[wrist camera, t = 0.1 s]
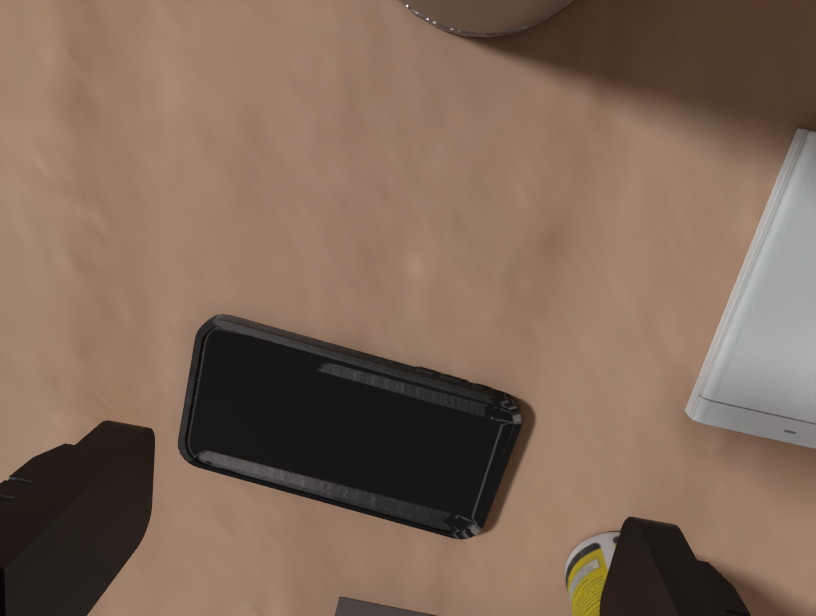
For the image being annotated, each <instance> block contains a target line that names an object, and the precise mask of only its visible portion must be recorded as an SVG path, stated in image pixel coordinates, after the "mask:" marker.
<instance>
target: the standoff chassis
mask: <svg viewBox="0 0 816 616" xmlns="http://www.w3.org/2000/svg"><path fill="white" fill-rule="evenodd" d="M335 616H433V615H428V614H423V613H418V612H413V611H408V610H403V609H398V608H393V607H388V606H383V605H378V604H372V603H367V602H362V601H357V600H352V599H347V598H342V597H339V601H338V605H337V609H336V613H335Z"/></svg>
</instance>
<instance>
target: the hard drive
mask: <svg viewBox="0 0 816 616" xmlns="http://www.w3.org/2000/svg"><path fill="white" fill-rule="evenodd" d="M685 412H686V413H687V415H688V416H689V417H690V418H691V419H692V420H694V421H697V422H699V423H702V424H706V425H710V426H714V427H719V428H723V429H728V430H732V431H737V432H741V433H746V434H750V435H755V436H759V437H764V438H768V439H773V440H777V441H782V442H786V443H791V444H795V445H800V446H804V447H809V448H814V449H816V131H812V130H808V129H799V128H798V129H797V130H796V133H795V135H794V138H793V140H792V143H791V145H790V148H789V150H788V153H787V155H786V158H785V160H784V163H783V165H782V168H781V170H780V173H779V175H778V178H777V180H776V183H775V185H774V188H773V190H772V193H771V195H770V198H769V200H768V203H767V205H766V208H765V210H764V213H763V215H762V218H761V220H760V223H759V225H758V228H757V230H756V233H755V235H754V238H753V240H752V243H751V245H750V248H749V250H748V253H747V255H746V258H745V260H744V263H743V265H742V268H741V270H740V273H739V275H738V278H737V280H736V283H735V285H734V288H733V290H732V293H731V295H730V298H729V301H728V303H727V306H726V308H725V311H724V313H723V316H722V318H721V321H720V323H719V326H718V328H717V331H716V333H715V336H714V338H713V341H712V343H711V346H710V349H709V351H708V353H707V356H706V358H705V361H704V363H703V366H702V369H701V371H700V374H699V376H698V379H697V382H696V384H695V387H694V389H693V391H692V394H691V396H690V399H689V401H688V404H687V407H686V409H685Z"/></svg>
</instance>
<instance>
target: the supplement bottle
mask: <svg viewBox="0 0 816 616" xmlns="http://www.w3.org/2000/svg"><path fill="white" fill-rule="evenodd" d="M619 534H620V532H607V533H602V534H599V535H596V536H593V537H591V538H588V539H587V540H585V541H583V542H582V543H580V544H579V545H578V546H577V547H576V548H575V549H574V550H573V551H572V553H571V554H570V556H569V558H568V560H567V563H566V567H565V581H566V587H567V591H568V595H569V600H570V604H571V609H572V613H573V616H599V610H600V599H601V594H602V590H603V587H604V584H605V580H606V577H607V574H608V570H609V567H610V564H611V561H612V557H613V554H614V551H615V548H616V544H617V541H618V538H619Z"/></svg>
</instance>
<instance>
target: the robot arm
mask: <svg viewBox="0 0 816 616" xmlns="http://www.w3.org/2000/svg"><path fill="white" fill-rule="evenodd" d="M399 1H400V2H401V3H402V4H403V5H405V6H406V7H407V8H408V9H409V10H410V11H411V12H412V13H413V14H414V15H416V16H417V17H419V18H421V19H422V20H424V21H426V22H427V23H429V24H431V25H433V26H434V27H436V28H438V29H441V30H444V31H447V32H451V33H454V34H457V35H460V36H466V37H481V38H492V37H499V36H505V35H511V34H516V33H518V32H521V31H523V30H526V29H528V28H531V27H534V26H536V25H539V24H541V23H542V22H544V21H545V20H547V19H548V18H550V17H551V16H553V15H554V14H556V13H557V12H559V11H560V10H562V9H563V8H565V7H566V6H567V5H568V4H570V3H571V2H572V1H573V0H399ZM154 454H155V435H154V432H153V430H152V429H151V428H147V427H142V426H136V425H131V424H125V423H120V422H114V421H109V420H106V421H103V422H102V423H100V424H99V425H98V426H97V427H96V428H94V429H93V430H92V431H91V432H90V433H89V434H87V435H86V436H85V437H84V438H83V439H82V440H80V441H79V442H78V443H77V444H76V445H71V444H63V445H61V446H58V447H56V448H54V449H51V450H49V451H47V452H44V453H42V454H40V455H37V456H35V457H33V458H32V459H30V460H29V461H28V462H27V463H25V464H24V465H23V466H22V467H20V468H19V469H18V470H17V471H15V472H14V473H13V474H12V475H10V476H9V480H8V481H7V480H4V481H3V482H2V483H0V616H87V615H88V613H89V612H90V611H91V609H92V608H93V606H94V605H95V604H96V602H97V601H98V600H99V598H100V597H101V596H102V594H103V593H104V592H105V590H106V589H107V588H108V586H109V585H110V584H111V582H112V581H113V580H114V578H115V577H116V576H117V574H118V573H119V571H120V570H121V569H122V567H123V566H124V565H125V563H126V562H127V561H128V559H129V558H130V557H131V555H132V554H133V553H134V551H135V550H136V549H137V547H138V546H139V544H140V542H141V541H142V539H143V537H144V535H145V532H146V530H147V527H148V524H149V520H150V516H151V510H152V495H153V474H154ZM750 615H751V614H750V613H749V611H748V609H747V608H746V606H745V604H744V603H743V601H742V599H741V598H740V596H739V594H738V593H737V591H736V589H735V588H734V587H733V586H732V585H731V584H730V583H729V582H728V581H727V580H726V579H725V578H724V577H723V576H722V575H721V574H720V573H719V572H718V571H717V570H716V569H714V568H713V567H712V566H711V565H710V564H709V563H708V562H703V561H697V559H696V557H695V555H694V554H693V552H692V550H691V548H690V546H689V544H688V543H687V541H686V539H685V537H684V535H683V533H682V532H681V530H680V528H679V527H678V526H677V525H674V524H669V523H663V522H658V521H652V520H647V519H641V518H636V517H628V518H627V519H626V520H625V522H624V523H623V525H622V528H621V531H620V534H619V538H618V541H617V544H616V548H615V551H614V554H613V557H612V561H611V564H610V567H609V570H608V574H607V577H606V580H605V584H604V587H603V590H602V594H601V599H600V610H599V616H750Z"/></svg>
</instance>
